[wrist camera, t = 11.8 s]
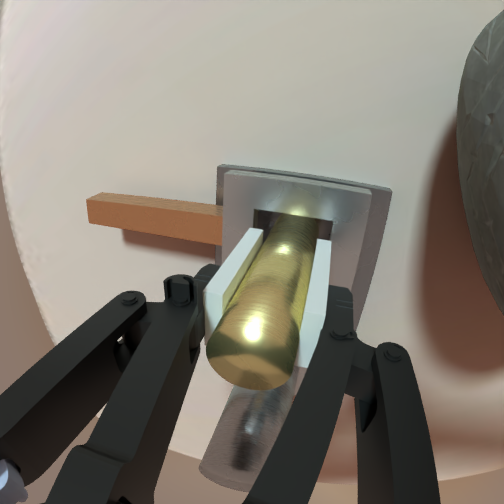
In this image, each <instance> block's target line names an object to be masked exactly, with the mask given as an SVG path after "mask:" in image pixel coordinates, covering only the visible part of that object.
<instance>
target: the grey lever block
mask: <svg viewBox="0 0 504 504" xmlns="http://www.w3.org/2000/svg"><path fill="white" fill-rule="evenodd" d="M391 196H392V191H391V190H390V188H385V187H380V186H375V185H369V184H364V183H358V182H353V181H347V180H341V179H335V178H329V177H323V176H316V175H310V174H303V173H295V172H288V171H280V170H272V169H264V168H255V167H245V166H236V165H225V164H222V165H219V166H217V190H216V205H212V204H204V203H196V202H188V201H179V200H171V199H162V198H153V197H144V196H134V195H124V194H114V193H103V192H102V193H99V194H97V195H95V196H93V197H90V198H88V199H86V202H87V211H88V219H89V223H92V224H98V225H103V226H109V227H115V228H121V229H127V230H133V231H138V232H144V233H150V234H156V235H162V236H168V237H173V238H179V239H185V240H191V241H197V242H202V243H208V244H214V245H215V265H219V266H222V264H223V263H224V262H225V260H226V259H227V258H228V256H229V255H230V254H231V252H232V251H233V250H234V248H235V247H236V246H237V244H238V243H239V242H240V240H241V239H242V238H243V236H244V235H245V234H246V232H247V231H248V230H249V228H255V229H261V230H263V242H262V245H263V243H264V242H265V240H266V238H267V236H268V235H269V233H270V231H271V229H272V228H273V226H274V224H275V222H276V220H277V219H278V217H279V216H280V215H281V214H283V213H286V214H293V215H299V216H306V217H312V218H314V219H315V220H316V222H317V224H318V227H319V237H318V239H322V240H328V241H331V257H330V272H329V284H328V285H334V286H339V287H345V288H348V289H349V290H350V292H351V293H352V295H353V323H354V330H355V332H356V329H357V326H358V323H359V320H360V317H361V313H362V310H363V307H364V304H365V301H366V297H367V294H368V290H369V287H370V284H371V280H372V276H373V273H374V269H375V265H376V262H377V258H378V254H379V250H380V246H381V242H382V238H383V233H384V229H385V225H386V220H387V215H388V211H389V206H390V201H391ZM306 370H307V368H305V367H299V366H294V368H293V372H292V375H291V377H290V378H289V379H288V381H287V382H285V383H284V384H283V385H281V386H279V387H277V388H274V389H270V390H250V389H245V388H242V387H239V386H236V385H234V386H233V389H232V391H231V394H230V396H229V398H228V401H227V403H226V406H225V408H224V410H223V413H222V415H221V417H220V420H219V422H218V424H217V427H216V429H215V431H214V434H213V436H212V438H211V440H210V443H209V445H208V447H207V450H206V452H205V454H204V456H203V459H202V461H201V463H200V465H199V470H200V472H201V473H202V474H203V475H204V476H205V477H206V478H208V479H209V480H211V481H213V482H215V483H217V484H219V485H221V486H224V487H227V488H230V489H234V490H238V491H243V492H250V490H251V488H252V486H253V484H254V483H255V481H256V479H257V477H258V475H259V473H260V471H261V469H262V467H263V465H264V463H265V461H266V459H267V457H268V455H269V453H270V451H271V449H272V447H273V445H274V443H275V441H276V439H277V437H278V434H279V432H280V430H281V428H282V426H283V424H284V422H285V419H286V417H287V415H288V413H289V410H290V408H291V406H292V401H293V397H294V395H295V396H296V394H297V392H298V390H299V387H300V385H301V383H302V380H303V378H304V375H305V373H306Z"/></svg>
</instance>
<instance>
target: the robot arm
mask: <svg viewBox="0 0 504 504" xmlns="http://www.w3.org/2000/svg"><path fill="white" fill-rule="evenodd" d="M262 242H263V230H261V229H255V228H249V230H248V231H247V232H246V234H245V235H244V236H243V238H242V239H241V240H240V242H239V243H238V244H237V246H236V247H235V248H234V250H233V251H232V252H231V254H230V255H229V256H228V258H227V259H226V260H225V262H224V263H223V264H222V266H219V265H214V264H208V265H206V266H205V267H203V268H201V269H200V271H199V272H198V273H197V275H195V277H194V278H193V277H192V276H189V275H182V274H178V275H173V276H170V277H168V278H166V279H165V280H164V281H163V282H164V292H165V300H164V302H146V297H145V296H144V294H143V293H141V292H138V291H126V292H123V293H121V294H119V295H117V296H116V297H115V298H114V299H112V300H111V301H110V302H109V303H107V304H106V305H105V306H104V307H102V308H101V309H100V310H99V311H98V312H96V313H95V314H94V315H93V316H91V317H90V318H89V319H88V320H86V321H85V322H84V323H83V324H82V325H80V326H79V327H78V328H77V329H76V330H74V331H73V332H72V333H71V334H70V335H68V336H67V337H66V338H65V339H64V340H62V341H61V342H60V343H59V344H58V345H56V346H55V347H54V348H53V349H52V350H51V351H49V352H48V353H47V354H46V355H45V356H44V357H43V358H41V359H40V360H39V361H38V362H37V363H36V364H34V366H32V367H31V368H30V369H29V370H28V371H27V372H25V373H24V374H23V375H22V376H21V377H20V378H19V379H18V380H16V381H15V382H14V383H13V384H12V385H11V386H10V387H9V388H8V389H7V390H5V391H4V392H3V393H2V394H1V395H0V504H16V503H17V502H18V501H19V502H25V501H26V500H27V498H28V493H27V491H26V489H25V488H24V487H25V486H27V485H29V484H30V483H32V482H34V481H35V480H36V479H37V478H39V477H40V476H41V475H42V474H43V473H44V472H45V471H46V470H47V469H48V468H49V467H50V466H51V465H52V464H53V463H54V462H55V461H56V459H57V458H58V457H59V456H60V455H61V454H62V453H63V451H64V450H65V449H66V448H67V447H68V446H69V445H70V443H71V442H72V441H73V440H74V439H75V438H76V437H77V436H78V434H79V433H80V432H81V431H82V430H83V429H84V428H85V427H86V425H87V424H88V423H89V422H90V421H91V420H92V419H93V418H94V417H95V415H96V414H97V413H98V412H99V411H100V410H101V409H102V408H103V406H104V405H105V404H106V403H107V404H106V406H105V408H104V410H103V412H102V414H101V416H100V418H99V420H98V422H97V424H96V426H95V428H94V430H93V432H92V434H91V436H90V438H89V440H88V441H87V443H86V444H84V445H77V446H75V447H74V448H72V450H71V451H70V453H69V454H68V456H67V458H66V460H65V462H64V464H63V466H62V468H61V470H60V472H59V474H58V476H57V478H56V481H55V483H54V485H53V487H52V489H51V491H50V494H49V496H48V498H47V500H46V502H45V503H41V504H154V490H155V487H156V484H157V480H158V477H159V474H160V471H161V468H162V465H163V462H164V459H165V455H166V453H167V450H168V446H169V443H170V440H171V437H172V434H173V431H174V428H175V425H176V422H177V419H178V416H179V413H180V410H181V407H182V404H183V401H184V398H185V395H186V392H187V389H188V386H189V383H190V380H191V377H192V374H193V372H194V369H195V366H196V363H197V360H198V357H199V354H200V342H201V341H202V339H203V337H204V339H205V345H206V346H207V342H208V340H209V338H210V337H211V335H212V333H213V331H214V330H215V328H216V326H217V324H218V323H219V321H220V319H221V317H222V316H223V314H224V312H225V310H226V309H227V307H228V305H229V303H230V302H231V300H232V298H233V296H234V295H235V293H236V291H237V289H238V288H239V286H240V284H241V282H242V281H243V279H244V277H245V275H246V273H247V272H248V270H249V268H250V266H251V265H252V263H253V261H254V259H255V258H256V256H257V254H258V252H259V251H260V249H261V247H262ZM330 257H331V241H328V240H322V239H317V245H316V251H315V256H314V262H313V268H312V273H311V278H310V284H309V289H308V294H307V299H306V304H305V309H304V314H303V319H302V324H301V329H300V340H299V345H298V350H297V354H296V359H295V363H294V366H299V367H305V368H307V370H306V373H305V375H304V378H303V380H302V383H301V385H300V387H299V390H298V392H297V394H296V397H295V399H294V401H293V404H292V406H291V408H290V410H289V413H288V415H287V417H286V419H285V422H284V424H283V426H282V428H281V430H280V432H279V434H278V437H277V439H276V441H275V443H274V445H273V447H272V449H271V451H270V453H269V455H268V457H267V459H266V461H265V463H264V465H263V467H262V469H261V471H260V473H259V475H258V477H257V479H256V481H255V483H254V484H253V486H252V488H251V490H250V492H249V494H248V496H247V497H246V499H245V500H244V502H243V503H242V504H308V502H309V499H310V497H311V494H312V492H313V489H314V487H315V484H316V481H317V479H318V476H319V473H320V470H321V468H322V465H323V462H324V459H325V456H326V453H327V450H328V447H329V444H330V441H331V438H332V434H333V431H334V428H335V425H336V421H337V418H338V414H339V411H340V407H341V404H342V400H343V396H344V393H345V394H348V395H350V396H352V397H355V399H354V400H355V415H356V434H357V462H358V504H441V503H440V495H439V488H438V480H437V473H436V467H435V461H434V455H433V450H432V445H431V440H430V435H429V430H428V425H427V421H426V416H425V412H424V408H423V404H422V400H421V396H420V392H419V388H418V384H417V381H416V377H415V373H414V370H413V366H412V363H411V359H410V356H409V354H408V352H407V350H405V349H404V348H403V347H402V346H400V345H398V344H396V343H391V342H385V343H382V344H380V345H378V347H377V348H374V347H371V346H369V345H367V344H365V343H363V342H362V341H360V340H359V339H358V338H357V333H356V332H355V330H354V323H353V295H352V293H351V292H350V290H349V289H348V288H345V287H339V286H334V285H328V284H329V272H330ZM121 336H122V338H123V339H121V340H120V341H119V342H118V341H117V340H118V339H119V338H120V337H121Z"/></svg>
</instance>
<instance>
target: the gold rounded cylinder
mask: <svg viewBox="0 0 504 504" xmlns="http://www.w3.org/2000/svg"><path fill="white" fill-rule="evenodd" d="M318 237H319V227H318V224H317V222H316V220H315V219H314V218H312V217H306V216H299V215H293V214H286V213H283V214H281V215H280V216H279V217H278V219H277V220H276V222H275V224H274V226H273V228H272V229H271V231H270V233H269V235H268V236H267V238H266V240H265V242H264V243H263V245H262V247H261V249H260V251H259V252H258V254H257V256H256V258H255V259H254V261H253V263H252V265H251V266H250V268H249V270H248V272H247V273H246V275H245V277H244V279H243V281H242V282H241V284H240V286H239V288H238V289H237V291H236V293H235V295H234V296H233V298H232V300H231V302H230V303H229V305H228V307H227V309H226V310H225V312H224V314H223V316H222V317H221V319H220V321H219V323H218V324H217V326H216V328H215V330H214V331H213V333H212V335H211V337H210V338H209V340H208V342H207V346H206V355H207V358H208V361H209V363H210V365H211V366H212V368H213V369H214V370H215V371H216V372H217V373H218V374H219V375H220V376H221V377H222V378H224V379H225V380H227V381H228V382H230V383H232V384H234V385H236V386H239V387H242V388H245V389H250V390H270V389H274V388H277V387H279V386H281V385H283V384H284V383H285V382H287V381H288V379H289V378H290V377H291V375H292V372H293V368H294V363H295V359H296V354H297V350H298V345H299V340H300V329H301V324H302V319H303V314H304V309H305V304H306V299H307V294H308V289H309V284H310V278H311V273H312V268H313V262H314V256H315V251H316V245H317V239H318Z"/></svg>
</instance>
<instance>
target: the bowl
mask: <svg viewBox="0 0 504 504" xmlns="http://www.w3.org/2000/svg"><path fill="white" fill-rule="evenodd" d="M456 137H457V154H458V170H459V179H460V185H461V192H462V199H463V204H464V209H465V214H466V219H467V223H468V227H469V231H470V235H471V239H472V244H473V248H474V252H475V254H476V257H477V260H478V263H479V266H480V269H481V272H482V275H483V278H484V280H485V282H486V284H487V286H488V287H489V289H490V291H491V293H492V295H493V297H494V299H495V301H496V303H497V305H498V307H499V309H500V310H501V312H502V314H503V315H504V10H503V11H502V12H501V13H500V14H499V15H497V16H496V17H495V18H494V19H493V20H492V21H491V22H490V23H488V24H487V25H486V26H485V28H484V29H483V30H482V32H481V33H480V34H479V36H478V37H477V39H476V40H475V42H474V44H473V46H472V48H471V50H470V52H469V54H468V57H467V59H466V63H465V67H464V71H463V74H462V78H461V84H460V89H459V95H458V107H457V130H456Z"/></svg>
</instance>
